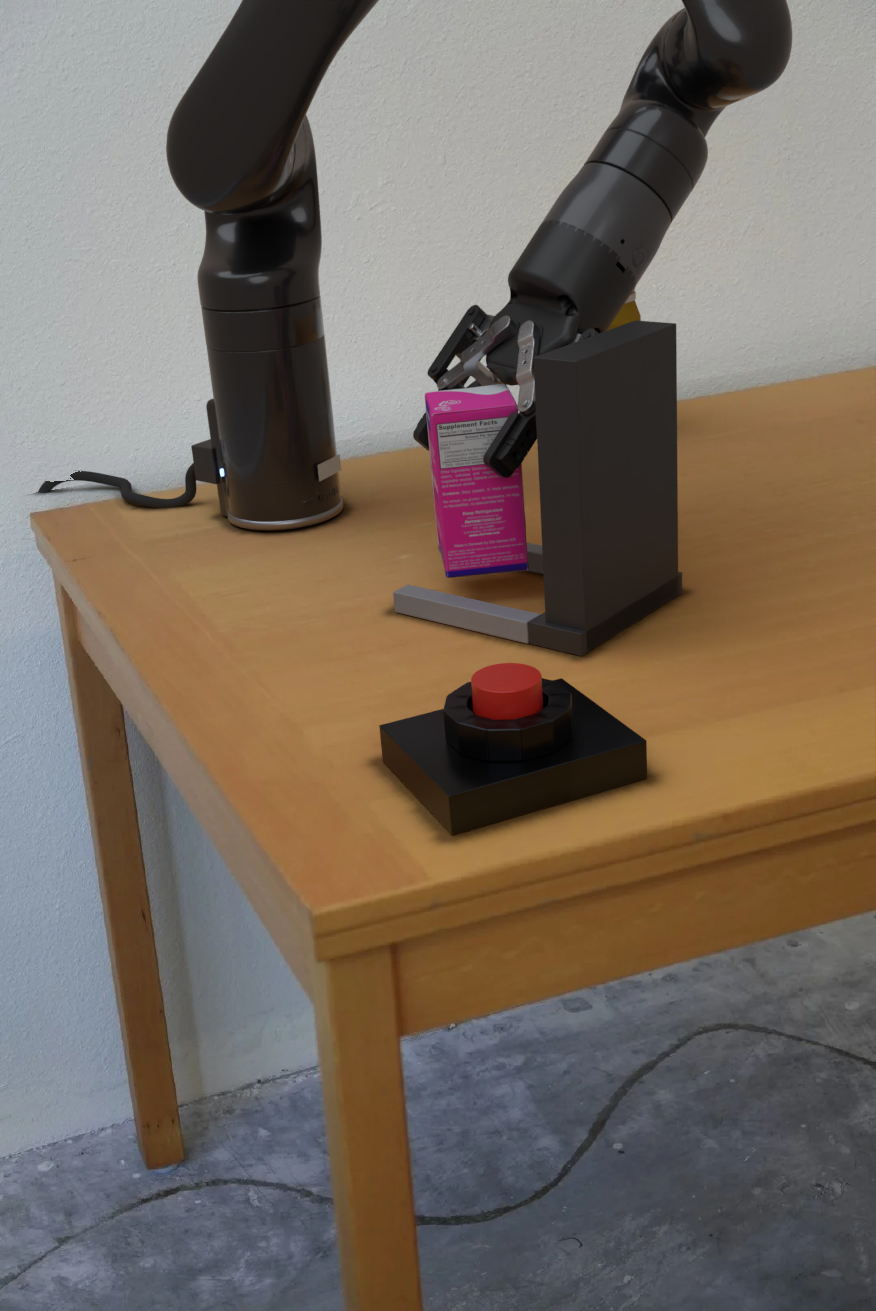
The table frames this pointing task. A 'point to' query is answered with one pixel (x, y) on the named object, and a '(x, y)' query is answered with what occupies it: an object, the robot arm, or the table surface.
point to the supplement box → (474, 483)
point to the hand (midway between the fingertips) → (458, 457)
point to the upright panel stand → (593, 496)
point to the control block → (511, 757)
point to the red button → (507, 691)
